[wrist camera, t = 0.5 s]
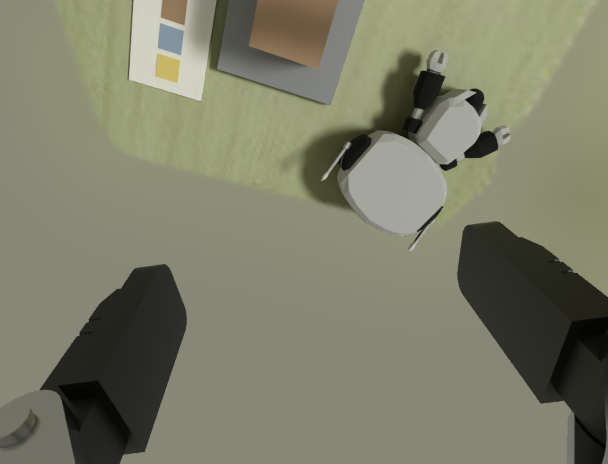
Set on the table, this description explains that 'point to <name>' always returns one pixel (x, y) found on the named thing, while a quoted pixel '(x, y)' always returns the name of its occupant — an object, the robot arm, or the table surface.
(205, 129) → the table surface
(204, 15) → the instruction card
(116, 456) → the robot arm
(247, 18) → the base plate
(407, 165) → the robot toy
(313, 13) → the brick walnut
